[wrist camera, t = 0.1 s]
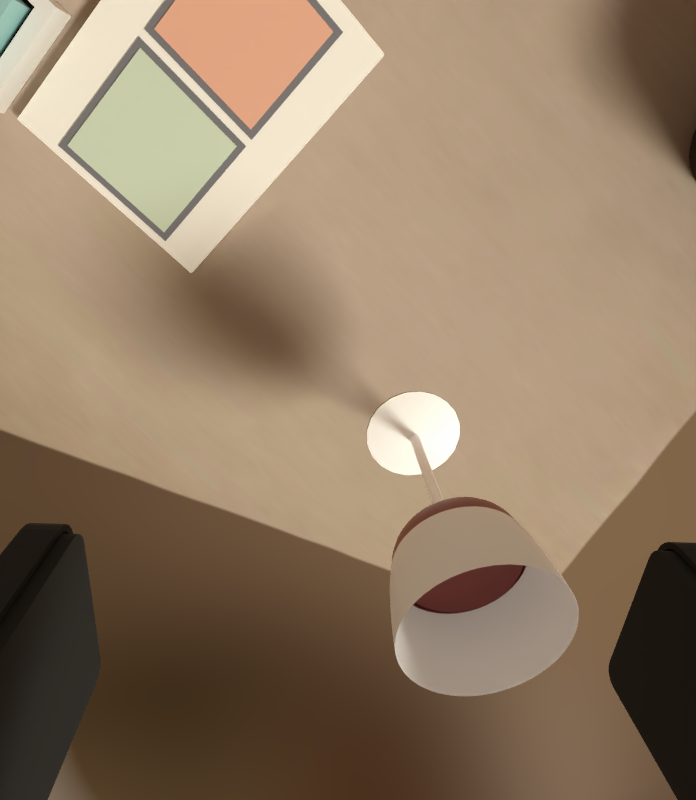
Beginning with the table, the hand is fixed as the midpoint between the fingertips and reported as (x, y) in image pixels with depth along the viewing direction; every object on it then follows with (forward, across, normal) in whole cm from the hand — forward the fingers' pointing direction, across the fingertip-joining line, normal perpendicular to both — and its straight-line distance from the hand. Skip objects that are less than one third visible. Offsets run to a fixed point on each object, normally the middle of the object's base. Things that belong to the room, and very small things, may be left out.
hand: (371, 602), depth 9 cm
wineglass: (+31, -8, +13) cm, 35 cm away
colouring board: (+31, +8, -10) cm, 34 cm away
